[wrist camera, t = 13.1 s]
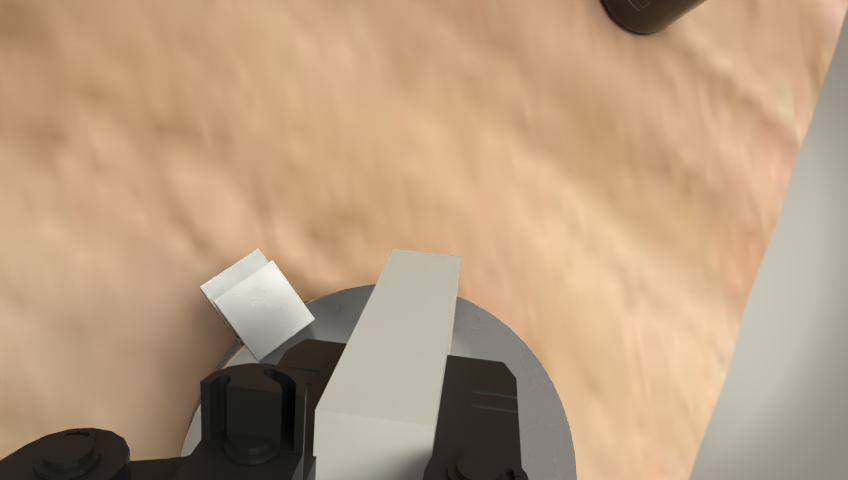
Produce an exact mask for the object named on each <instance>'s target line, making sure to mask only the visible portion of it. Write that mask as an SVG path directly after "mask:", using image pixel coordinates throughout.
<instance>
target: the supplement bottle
mask: <svg viewBox="0 0 848 480" xmlns="http://www.w3.org/2000/svg"><path fill="white" fill-rule="evenodd" d="M603 1H604V3H605V5H606V7H607V9H608V11H609V12H610V14H611V15H612V16H613V17H614V18H615V19H616V20H617V21H618V22H619V23H620V24H621V25H623V26H624V27H626V28H628V29H630V30H632V31H635V32H639V33H654V32H657V31H660V30H662V29H664V28H665V27H667V26H669V25H670V24H672V23H673V22H675V21H676V20H678V19H679V18H681V17H682V16H684V15H685V14H687V13H688V12H690V11H691V10H693V9H695V8H696V7H698V6H699V5H701V4H702V3H704V2H705V1H707V0H603Z"/></svg>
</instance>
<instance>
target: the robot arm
mask: <svg viewBox="0 0 848 480" xmlns="http://www.w3.org/2000/svg"><path fill="white" fill-rule="evenodd" d="M460 262H461V257H459V256H451V255H442V254H434V253H426V252H417V251H409V250H401V249H393V250H392V252H391V254H390V257H389V259H388V261H387V263H386V265H385V267H384V269H383V271H382V273H381V275H380V277H379V279H378V281H377V283H376V285H375V287H374V290H373V292H372V294H371V296H370V298H369V300H368V302H367V304H366V306H365V308H364V310H363V312H362V314H361V316H360V318H359V321H358V323H357V325H356V327H355V329H354V331H353V333H352V335H351V337H350V339H349V341H348V343H347V344H345V343H338V342H330V341H323V340H315V339H305V340H303V341H301V342H300V343H298V344H296V345H294V346H293V347H291V348H289V349H288V350H286V352H285V353H284V355H283V356H282V358H281V359H280V361H279V362H278V364H277V365H274V364H266V363H246V364H240V365H233V366H229V367H226V368H224V369H221V370H218V371H216V372H213V373H212V374H210V375H209V376H208V377H206V378H205V379H204V380H202V381H201V382H200V385H201V440H200V442H199V443H198V445H197V446H196V447H195V449H194V450H193V451H192V453H191V454H190V455H188V456H183V457H176V458H169V459H156V460H142V461H130V450H129V448H128V446H127V443H126V441H125V439H124V438H122V437H120V436H119V435H117V434H115V433H113V432H112V431H107V430H101V429H95V428H82V429H79V428H78V429H69V430H65V431H61V432H57V433H53V434H50V435H46V436H44V437H42V438H40V439H38V440H36V441H33V442H31V443H29V444H27V445H25V446H23V447H22V448H20V449H19V450H17V451H15V452H14V453H12V454H10V455H9V456H7V457H5V458H4V459H2V460H1V461H0V480H529V479H528V476H527V474H526V472H525V471H524V470H523V469H522V463H521V447H520V430H519V414H518V399H517V381H516V377H515V376H514V375H513V373H512V372H511V371H510V370H509V368H508V367H507V366H506V365H505V363H504V362H499V361H491V360H484V359H476V358H468V357H461V356H453V355H450V350H451V341H452V332H453V324H454V315H455V306H456V297H457V289H458V280H459V271H460Z"/></svg>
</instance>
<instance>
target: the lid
mask: <svg viewBox="0 0 848 480" xmlns="http://www.w3.org/2000/svg"><path fill="white" fill-rule="evenodd" d="M374 287H375V285H368V286H362V287H356V288H350V289H345V290H341V291H338V292H335V293H332V294H328V295H325V296H322V297H319V298H316V299H313V300H311V301H309V302H307V303H305V304H304V303H303V302H302V300H301V299H300V298H299V296H298V295H297V294H296V292H295V291H294V289H293V288H292V287H291V285H290V284H289V283H288V281H287V280H286V278H285V277H284V276H283V274H282V273H281V272H280V270H279V269H278V267H277V266H276V265H275V263H274V262H273V261H271V262H269V263H268V264H266V265H265V266H264V267H262V268H261V269H259V270H258V271H256V272H255V273H253V274H252V275H250V276H249V277H248V278H246V279H245V280H243V281H242V282H240V283H239V284H237V285H236V286H234V287H233V288H232V289H230V290H229V291H227V292H226V293H224V294H223V295H221V296H220V297H219V298H217V299H216V300H214V302H213V303H214V304H215V306H216V307H217V308H218V310H219V311H220V312H221V314H222V315H223V316H224V318H225V319H226V320H227V322H228V323H229V325H230V326H231V327H232V329H233V330H234V331H235V333H236V334H237V335H238V337H239V338H240V339H241V341H242V342H243V343H244V346H243V347H242V348H241V349H240V350H239V351H238V352H237V353H236V354H235V355H234V356H233V357H232V358H231V360H230V361H229V362H228V363H227V364H226V365H225V367H224V368H226V367H229V366H233V365H240V364H246V363H266V364H274V365H277V364H278V362H279V361H280V359H281V358H282V356H283V355H284V353H285V352H286V350H288V349H289V348H291V347H293V346H294V345H296V344H298V343H300V342H301V341H303V340H305V339H315V340H323V341H330V342H338V343H345V344H347V343H348V341H349V339H350V337H351V335H352V333H353V331H354V329H355V327H356V325H357V323H358V321H359V318H360V316H361V314H362V312H363V310H364V308H365V306H366V304H367V302H368V300H369V298H370V296H371V294H372V292H373V290H374ZM450 355H453V356H461V357H468V358H476V359H484V360H491V361H499V362H504V363H505V365H506V366H507V367H508V368H509V370H510V371H511V372H512V373H513V375H514V376H515V377H516V381H517V399H518V414H519V430H520V447H521V463H522V469H523V470H524V471H525V472H526V474H527V476H528V479H529V480H577V476H576V463H575V452H574V447H573V442H572V436H571V431H570V427H569V424H568V421H567V418H566V414H565V411H564V408H563V405H562V403H561V400H560V398H559V396H558V394H557V392H556V389H555V387H554V385H553V383H552V381H551V379H550V378H549V376H548V374H547V373H546V371H545V369H544V368H543V366H542V365H541V363H540V361H539V360H538V359H537V358H536V356H535V355H534V354H533V353H532V351H531V350H530V349H529V348H528V346H527V345H526V344H525V343H524V342H523V341H522V340H521V339H520V338H519V337H518V336H517V335H516V334H515V333H514V332H513V331H512V330H511V329H510V328H509V327H508V326H507V325H505V324H504V323H503V322H501V321H500V320H499V319H497V318H496V317H494V316H493V315H492V314H490V313H489V312H487V311H486V310H484V309H482V308H480V307H478V306H477V305H475V304H473V303H471V302H469V301H467V300H465V299H462V298H460V297H456V306H455V315H454V324H453V332H452V341H451V350H450ZM224 368H223V369H224ZM200 440H201V404H200V406H199V408H198V409H197V411H196V413H195V416H194V418H193V421H192V423H191V426H190V428H189V431H188V433H187V436H186V438H185V441H184V445H183V449H182V453H181V457H183V456H188V455H190V454H191V453H192V451H193V450H194V449H195V447H196V446H197V445H198V443H199V442H200Z"/></svg>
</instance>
